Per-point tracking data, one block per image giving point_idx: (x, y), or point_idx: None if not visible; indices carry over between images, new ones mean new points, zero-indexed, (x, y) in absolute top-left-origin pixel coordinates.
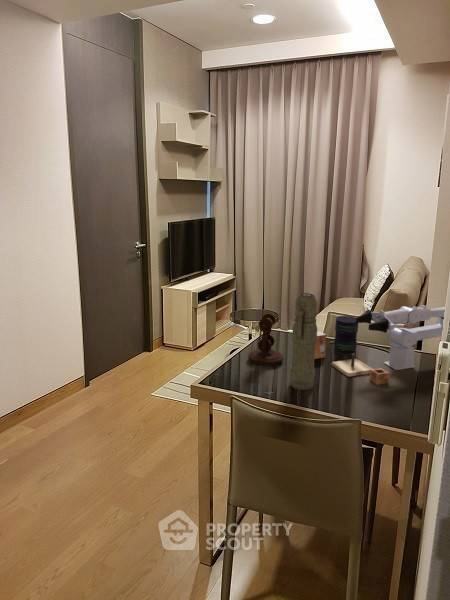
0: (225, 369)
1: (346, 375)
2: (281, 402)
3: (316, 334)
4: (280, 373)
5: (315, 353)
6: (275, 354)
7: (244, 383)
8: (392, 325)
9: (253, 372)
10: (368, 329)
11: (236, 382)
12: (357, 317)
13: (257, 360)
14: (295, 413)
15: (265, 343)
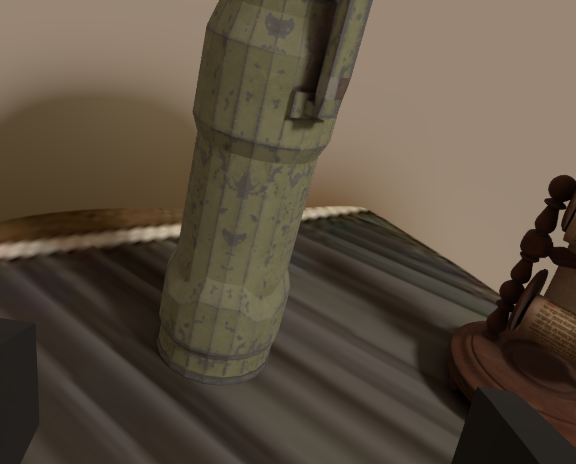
0: (452, 277)
1: None
2: (144, 238)
3: (211, 70)
4: (367, 361)
5: None
6: (527, 387)
7: (326, 254)
8: None
9: (406, 309)
10: (35, 423)
11: (342, 248)
12: (502, 394)
13: (475, 322)
14: (55, 220)
15: (514, 272)
